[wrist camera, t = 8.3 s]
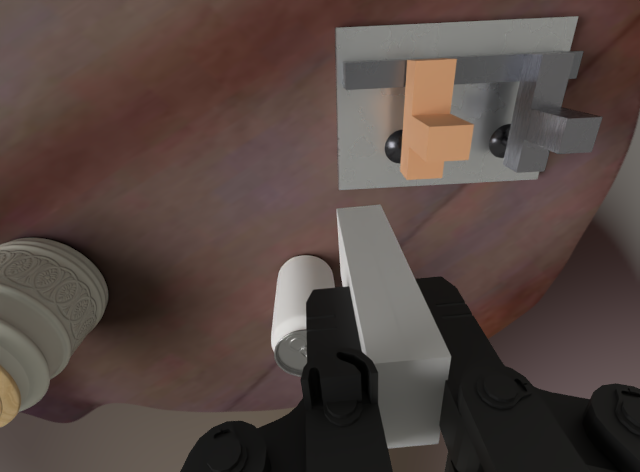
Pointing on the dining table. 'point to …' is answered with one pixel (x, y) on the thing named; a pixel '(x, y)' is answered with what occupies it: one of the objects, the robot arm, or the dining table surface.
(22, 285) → the jar
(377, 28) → the grey assembly fixture
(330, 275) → the can
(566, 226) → the dining table surface
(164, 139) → the dining table surface
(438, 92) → the orange t-shaped block
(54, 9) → the dining table surface
